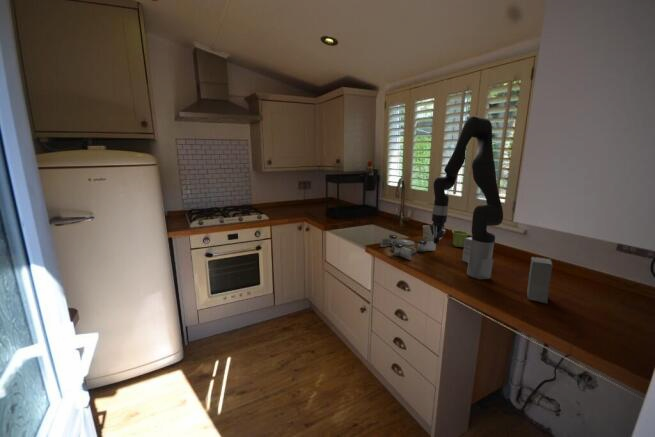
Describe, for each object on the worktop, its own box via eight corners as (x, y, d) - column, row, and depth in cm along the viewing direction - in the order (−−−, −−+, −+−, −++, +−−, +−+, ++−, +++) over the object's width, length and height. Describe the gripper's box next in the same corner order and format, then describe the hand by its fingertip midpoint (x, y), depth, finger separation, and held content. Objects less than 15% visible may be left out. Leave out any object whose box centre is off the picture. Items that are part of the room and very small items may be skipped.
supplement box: (471, 258, 160) (474, 236, 157) (483, 263, 153) (487, 240, 151) (461, 260, 157) (464, 237, 154) (473, 265, 151) (476, 241, 148)
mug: (420, 239, 193) (421, 224, 191) (440, 241, 191) (442, 226, 189) (422, 243, 185) (424, 228, 183) (443, 245, 183) (445, 229, 181)
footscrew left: (391, 254, 162) (392, 244, 161) (398, 252, 165) (398, 242, 163) (406, 260, 153) (407, 249, 152) (413, 259, 156) (414, 248, 155)
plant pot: (453, 242, 189) (455, 229, 187) (469, 246, 183) (471, 232, 181) (447, 245, 182) (449, 232, 180) (463, 249, 176) (465, 235, 174)
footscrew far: (392, 243, 182) (393, 234, 180) (398, 245, 177) (399, 236, 176) (378, 245, 176) (379, 236, 175) (383, 248, 172) (384, 238, 171)
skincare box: (547, 304, 112) (555, 265, 109) (525, 299, 116) (532, 261, 113) (545, 295, 120) (553, 258, 116) (524, 291, 123) (531, 255, 120)
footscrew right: (419, 252, 167) (421, 242, 165) (415, 249, 171) (416, 240, 170) (436, 251, 169) (438, 241, 168) (432, 248, 174) (433, 239, 172)
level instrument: (421, 254, 165) (422, 244, 164) (398, 255, 162) (399, 245, 160) (409, 246, 178) (409, 237, 177) (387, 247, 175) (388, 238, 174)
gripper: (453, 216, 156) (449, 247, 160) (439, 210, 168) (435, 239, 172) (440, 216, 154) (436, 247, 158) (427, 210, 166) (423, 240, 171)
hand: (436, 243), depth 165 cm, fingers closed
